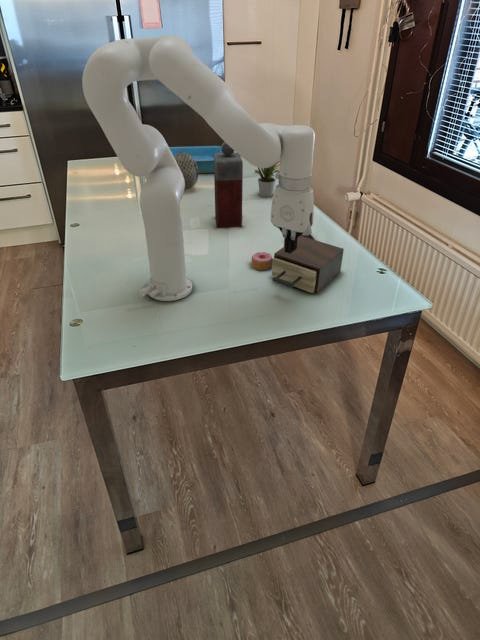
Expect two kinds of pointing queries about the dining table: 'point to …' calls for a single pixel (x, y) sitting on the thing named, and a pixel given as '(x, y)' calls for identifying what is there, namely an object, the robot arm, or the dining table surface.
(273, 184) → the house plant
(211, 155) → the casserole dish
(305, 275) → the drawer
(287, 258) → the cabinet
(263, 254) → the donut
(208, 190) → the dining table surface
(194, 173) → the decorative egg
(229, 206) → the toy vending machine
